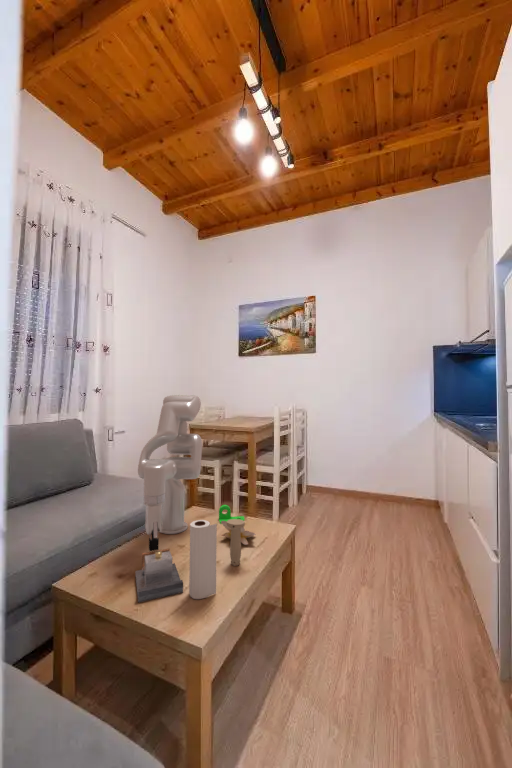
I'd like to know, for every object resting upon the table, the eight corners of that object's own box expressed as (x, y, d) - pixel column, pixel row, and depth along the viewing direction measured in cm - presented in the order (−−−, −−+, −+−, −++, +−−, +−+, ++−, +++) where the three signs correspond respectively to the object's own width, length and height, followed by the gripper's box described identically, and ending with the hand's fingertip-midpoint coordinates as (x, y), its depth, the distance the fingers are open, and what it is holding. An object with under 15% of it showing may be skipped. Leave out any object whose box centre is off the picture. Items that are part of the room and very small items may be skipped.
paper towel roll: (185, 594, 99) (185, 523, 99) (199, 585, 104) (200, 517, 104) (201, 604, 94) (202, 529, 95) (216, 594, 99) (216, 523, 100)
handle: (229, 559, 120) (229, 518, 121) (246, 562, 118) (246, 520, 119) (224, 566, 115) (225, 523, 116) (241, 568, 114) (242, 525, 114)
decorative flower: (263, 540, 136) (263, 516, 136) (249, 551, 126) (249, 525, 126) (232, 532, 143) (233, 510, 144) (217, 543, 133) (218, 518, 134)
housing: (144, 577, 105) (144, 551, 105) (169, 572, 108) (170, 546, 109) (145, 586, 101) (146, 558, 101) (172, 580, 104) (172, 553, 104)
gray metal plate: (135, 575, 109) (135, 566, 109) (174, 567, 114) (174, 558, 114) (138, 602, 95) (138, 592, 95) (183, 592, 100) (183, 582, 100)
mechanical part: (219, 526, 150) (220, 509, 150) (218, 521, 156) (218, 505, 156) (245, 525, 153) (245, 507, 153) (243, 520, 158) (243, 503, 159)
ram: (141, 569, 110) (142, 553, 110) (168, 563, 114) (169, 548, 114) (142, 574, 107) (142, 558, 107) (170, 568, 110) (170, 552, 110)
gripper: (142, 493, 124) (141, 542, 123) (145, 506, 110) (144, 561, 109) (162, 491, 127) (161, 539, 126) (168, 503, 113) (167, 557, 112)
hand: (153, 549), depth 118 cm, fingers closed
